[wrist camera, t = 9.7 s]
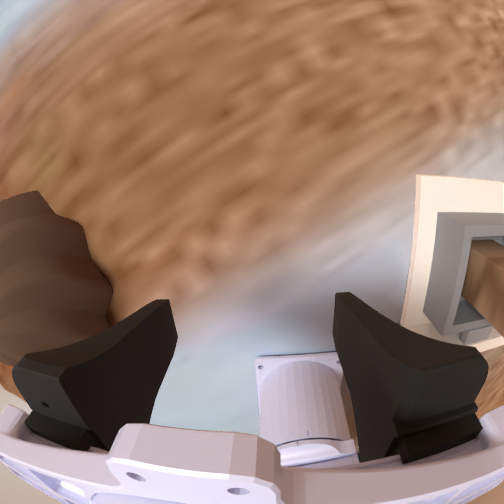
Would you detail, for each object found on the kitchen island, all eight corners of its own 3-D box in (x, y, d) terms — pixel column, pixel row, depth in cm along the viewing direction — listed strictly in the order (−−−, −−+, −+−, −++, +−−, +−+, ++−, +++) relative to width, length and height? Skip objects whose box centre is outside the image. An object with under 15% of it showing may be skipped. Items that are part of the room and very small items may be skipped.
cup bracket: (488, 316, 22) (513, 341, 18) (397, 334, 23) (417, 369, 18) (513, 183, 18) (549, 194, 13) (416, 174, 18) (452, 183, 14)
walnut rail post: (483, 281, 19) (536, 328, 12) (451, 286, 20) (505, 339, 12) (491, 239, 18) (553, 276, 11) (459, 240, 18) (524, 283, 11)
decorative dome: (-24, 200, 21) (-85, 226, 12) (98, 181, 20) (7, 211, 11) (16, 342, 28) (-25, 385, 18) (136, 373, 27) (99, 445, 17)
